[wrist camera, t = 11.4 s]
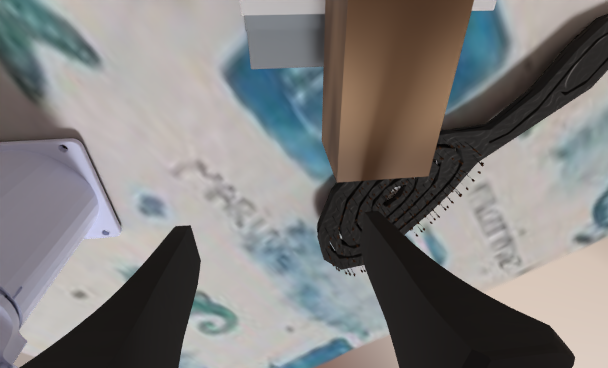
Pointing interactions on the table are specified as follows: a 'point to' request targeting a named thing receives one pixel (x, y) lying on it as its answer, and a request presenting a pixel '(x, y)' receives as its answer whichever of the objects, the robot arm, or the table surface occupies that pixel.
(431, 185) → the hairbrush
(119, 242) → the table surface
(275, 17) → the ridge stand
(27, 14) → the table surface
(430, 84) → the walnut stick
